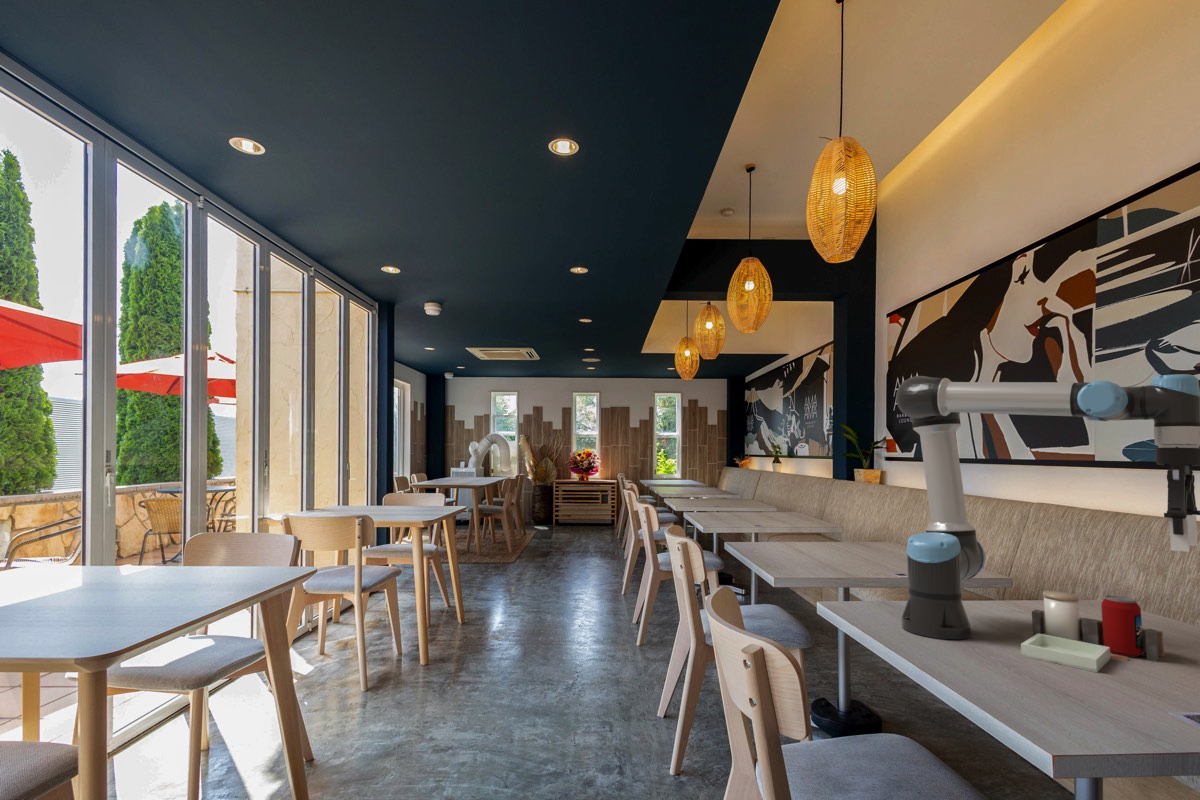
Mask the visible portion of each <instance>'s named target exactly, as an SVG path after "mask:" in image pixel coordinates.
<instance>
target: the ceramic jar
mask: <svg viewBox="0 0 1200 800" xmlns="http://www.w3.org/2000/svg"><path fill="white" fill-rule="evenodd" d="M1042 596H1043V609H1044V610H1043V611H1044V614H1045V634H1044V635H1049V636H1055V637H1060V638H1065V639H1070V640H1075V641H1080V622H1079V617H1080V607H1079V605H1080V604H1079V601H1080V597H1079V594H1076V593H1072V592H1067V591H1059V590H1043V591H1042ZM1080 642H1082V641H1080Z"/></svg>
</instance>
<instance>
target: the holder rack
mask: <svg viewBox="0 0 1200 800" xmlns="http://www.w3.org/2000/svg"><path fill="white" fill-rule="evenodd" d="M1079 622H1080V641H1081V642H1086V643H1091V644H1096V645H1101V646H1104V641H1103V626H1102V620H1099V619H1093V618H1087V617H1080V616H1079ZM1031 624H1032V637H1033V636H1034V635H1036V634H1038V633H1039V634H1044V635H1045V614H1044V610H1040V609H1034V610H1032V611H1031ZM1142 636H1143V654H1146V660H1148V661H1152V662H1157V661H1158V660H1159V657H1164V656H1165V646H1164V644H1165V643H1164V631H1162V630H1157V629H1152V628H1145V627H1142ZM1110 658H1111V659H1112V658H1114V659H1118V660H1123V661H1129V657H1127V656H1121V655H1117V654H1113V653H1110Z"/></svg>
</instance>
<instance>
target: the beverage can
mask: <svg viewBox="0 0 1200 800" xmlns="http://www.w3.org/2000/svg"><path fill="white" fill-rule="evenodd" d="M1141 609H1142V608H1141V607H1140V605H1139V604H1138V602H1137V600H1136V599H1135V598H1132V597H1127V596H1120V595H1105V596H1104V598H1103V600H1102V602H1101V621H1102V626H1103V641H1104V645H1103V646H1106V647H1110V654H1113V653H1114V654H1115V655H1121V656H1126V657H1130V658H1136V657H1139V656H1141V655H1143V654H1144V653H1143V636H1142V628H1143V625H1142V624H1143V623H1142V610H1141Z"/></svg>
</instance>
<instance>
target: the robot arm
mask: <svg viewBox="0 0 1200 800" xmlns="http://www.w3.org/2000/svg"><path fill="white" fill-rule="evenodd" d="M895 401H896V405H897V407H898V409H899V410H900V411H901V413H902V414H904V415H906V416H907V417H909V418H911V425H912V430H913V431H914V432H916V433H917V434H918V435H919V437H920V438H919V439H920V446H921V454H922V461H923V469H924V476H925V485H926V492H927V500H928V507H929V516H930V523H929V525H928V526H927V527H926V528H925V532H923V533H922V532H919V533H915V534H912V535H910V536H909V537H908V538H907V544H906V549H905V550H906V554H907V555H906V556H907V557H906V558H907V561H906V562H907V582H908V597H907V601H906V604H905V607H904V609H903V613H902V615H901V627H902V629H903V630H905V631H907V632H909V633H912V634H915V635H919V636H922V637H928V638H932V639H940V640H941V639H942V640H944V639H945V640H966V639H969V638H971V637H972V626H971V623H970V620H969V617H968V615H967V612H966V609H965V606H964V605H963V599H962V596H963V595H962V582H963V581H968V580H971V579H973V578H975V577H976V576H977V575H978V574H979V573H980V572H981V571H982V570H983V568H984V567H985V563H986V554H985V553H986V552H985V551H984V547H983V546H982V545H981V543H980V542H979V541H978V538H977V531H976V528H975V527H974V526H973V525H972V524H970V523H969V521H968V514H967V510H966V509H967V507H966V501H965V493H964V486H963V478H962V472H961V466H960V465H961V464H960V457H959V449H958V441H957V436H956V432H957V430H958V429H960V427H961V426H962V423H961V416H960V414H962V413H963V414H964V413H965V414H967V413H968V414H993V415H994V414H995V415H1023V416H1024V415H1026V416H1027V415H1028V416H1050V417H1051V416H1054V417H1055V416H1057V417H1077V418H1085V419H1086V420H1088V421H1096V422H1097V421H1098V422H1108V421H1139V420H1143V421H1147V420H1153V438H1154V439H1153V440H1154V445H1155V446H1158V447H1157V448H1156V449H1154V450H1155V452H1154V453H1155V463H1156V464H1157V465H1159V466H1170V469H1167V472H1166V480H1167V508H1166V509H1167V510H1166V512H1163V516H1164V517H1163V518H1165V519H1167V518H1168V524H1169V542H1170V544H1169V546H1170V550H1171V551H1176V552H1177V551H1178V552H1185V553H1186V552H1187V553H1190V546H1192V547H1198V546H1199V543H1198V527H1197V526H1198V525H1197V522H1198V521H1197V516H1200V509H1199V510H1198V507H1197V503H1196V494H1195V487H1196V486H1195V481H1196V478H1195V474H1194V471H1193V470H1192V469H1190V467H1200V381H1199V378H1198V377H1196V376H1195V375H1193V374H1186V373H1183V374H1178V373H1176V374H1165V375H1156V376H1153V377H1152V378H1151V382H1150V385H1142V386H1120V385H1119V384H1117V383H1115V382H1111V381H1109V380H1108V381H1107V380H1106V381H1105V380H1096V381H1092V382H1072V381H1071V382H1068V381H1067V382H1066V381H1065V382H1063V381H1061V382H1060V381H1059V382H1057V381H1055V382H1051V381H1050V382H1049V381H1048V382H1047V381H1046V382H1045V381H1041V382H1040V381H1039V382H1038V381H1036V382H1035V381H1030V382H1029V381H1028V382H1026V381H1025V382H1023V381H1019V382H1016V381H1014V382H1013V381H1011V382H1009V381H1001V382H1000V381H990V382H989V381H979V382H978V381H968V382H967V381H965V382H964V381H952V380H950V379H949V378H947V377H931V376H926V375H917V376H915V375H914V376H912V377H909V378H907V379H906V380H904V381H903V382H902V383H900V385H899V386H898V388H897V391H896V394H895Z"/></svg>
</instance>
